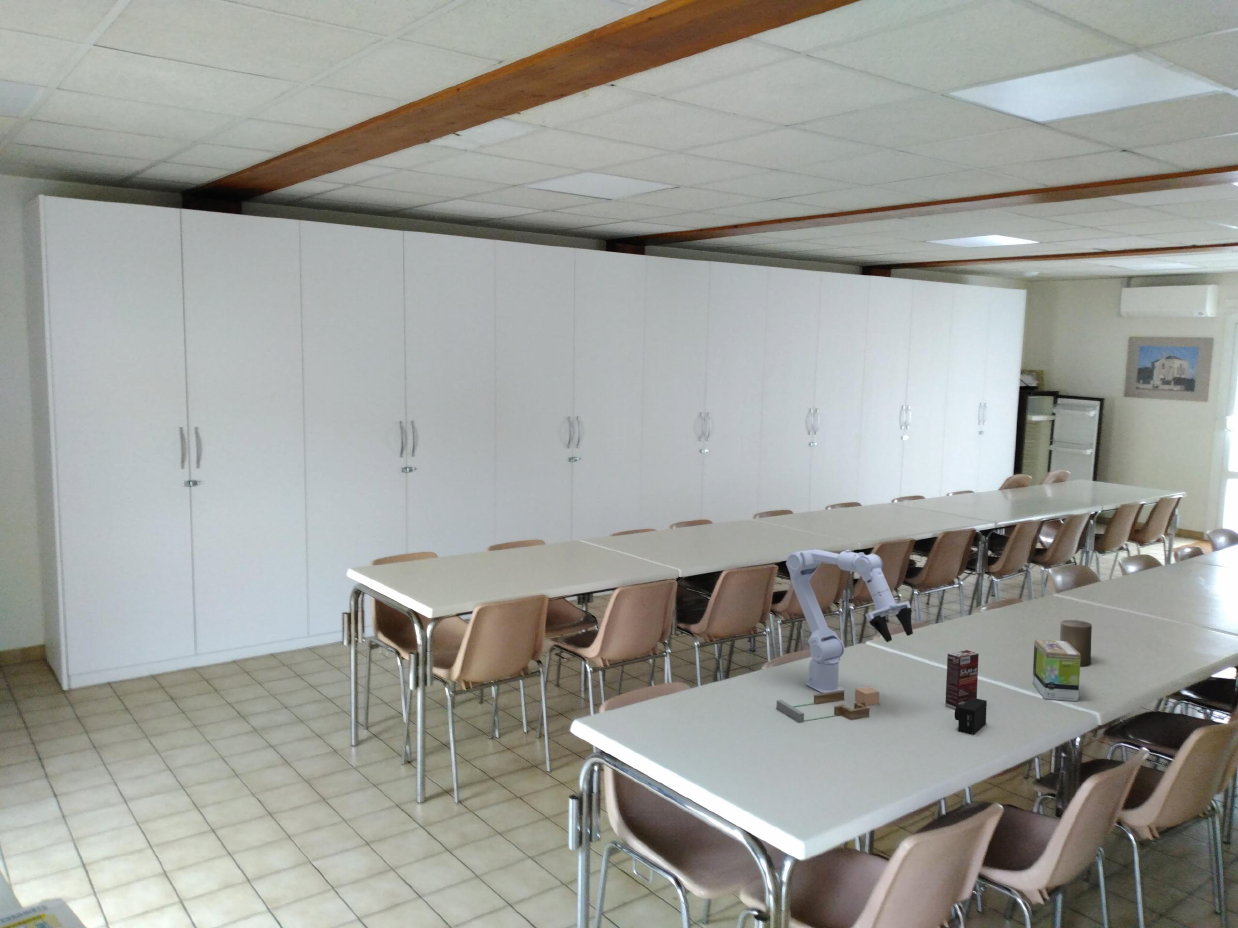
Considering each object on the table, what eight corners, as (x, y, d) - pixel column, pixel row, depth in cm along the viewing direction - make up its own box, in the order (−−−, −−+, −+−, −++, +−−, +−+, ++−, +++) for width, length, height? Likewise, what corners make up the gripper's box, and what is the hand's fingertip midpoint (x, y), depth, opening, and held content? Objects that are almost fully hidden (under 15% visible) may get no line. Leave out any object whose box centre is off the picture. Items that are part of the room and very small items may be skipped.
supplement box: (958, 710, 263) (959, 657, 262) (944, 705, 268) (946, 653, 266) (977, 705, 268) (979, 653, 266) (964, 700, 272) (966, 649, 270)
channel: (813, 702, 270) (813, 694, 270) (841, 698, 274) (841, 690, 274) (845, 720, 256) (845, 712, 256) (874, 715, 260) (874, 707, 259)
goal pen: (776, 708, 266) (776, 700, 266) (811, 702, 270) (811, 694, 270) (799, 722, 255) (799, 713, 254) (835, 716, 259) (835, 707, 259)
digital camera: (966, 719, 257) (967, 695, 256) (986, 724, 253) (986, 699, 253) (953, 730, 249) (954, 705, 248) (973, 735, 245) (974, 710, 245)
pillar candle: (1096, 666, 304) (1097, 622, 303) (1066, 666, 304) (1068, 622, 303) (1081, 658, 314) (1083, 615, 312) (1053, 658, 314) (1055, 615, 313)
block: (854, 701, 272) (855, 688, 272) (868, 699, 274) (868, 686, 274) (865, 706, 267) (865, 693, 267) (879, 704, 269) (879, 691, 269)
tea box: (1079, 701, 270) (1081, 653, 269) (1043, 699, 272) (1045, 651, 271) (1065, 685, 285) (1067, 639, 284) (1031, 683, 287) (1033, 638, 286)
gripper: (868, 595, 258) (887, 640, 253) (908, 583, 263) (927, 628, 259) (855, 602, 264) (874, 646, 259) (894, 591, 270) (913, 634, 265)
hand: (899, 637), depth 260 cm, fingers open, 7 cm apart
